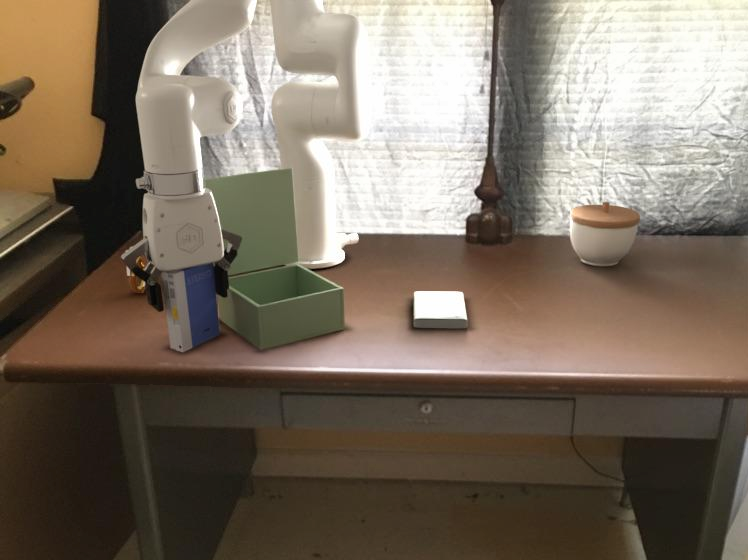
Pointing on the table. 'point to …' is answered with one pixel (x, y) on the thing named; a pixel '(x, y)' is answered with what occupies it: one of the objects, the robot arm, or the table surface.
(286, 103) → the robot arm
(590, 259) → the lidded bowl
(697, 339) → the table surface
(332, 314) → the chest
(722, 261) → the table surface
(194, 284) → the walkman
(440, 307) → the hard drive
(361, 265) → the table surface
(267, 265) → the chest lid
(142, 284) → the ring
